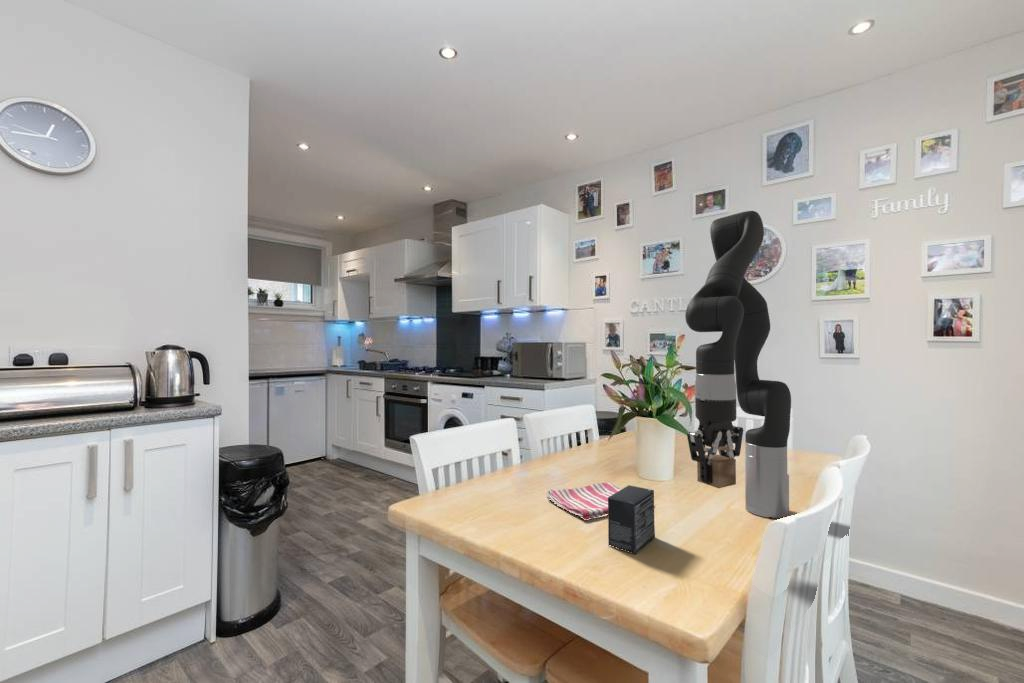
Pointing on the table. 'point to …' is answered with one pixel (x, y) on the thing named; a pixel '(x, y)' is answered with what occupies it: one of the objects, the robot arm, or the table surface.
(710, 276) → the robot arm
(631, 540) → the small box
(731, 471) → the walnut block
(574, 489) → the dish towel
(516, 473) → the table surface
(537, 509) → the table surface
